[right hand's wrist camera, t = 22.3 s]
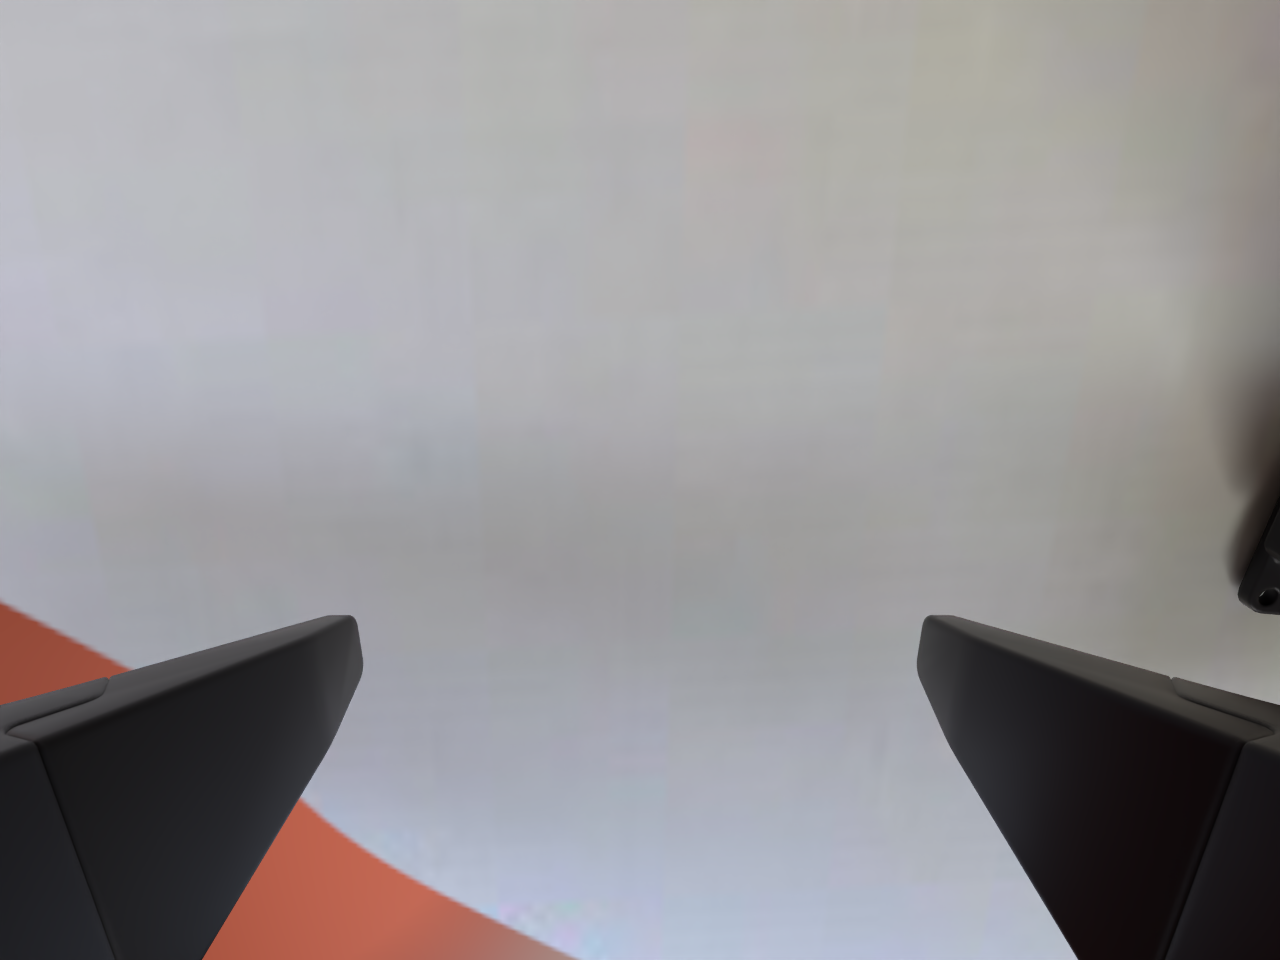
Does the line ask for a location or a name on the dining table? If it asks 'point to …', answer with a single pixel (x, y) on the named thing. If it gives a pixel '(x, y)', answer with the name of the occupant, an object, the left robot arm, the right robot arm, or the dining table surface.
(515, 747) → the dining table surface
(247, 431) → the dining table surface
